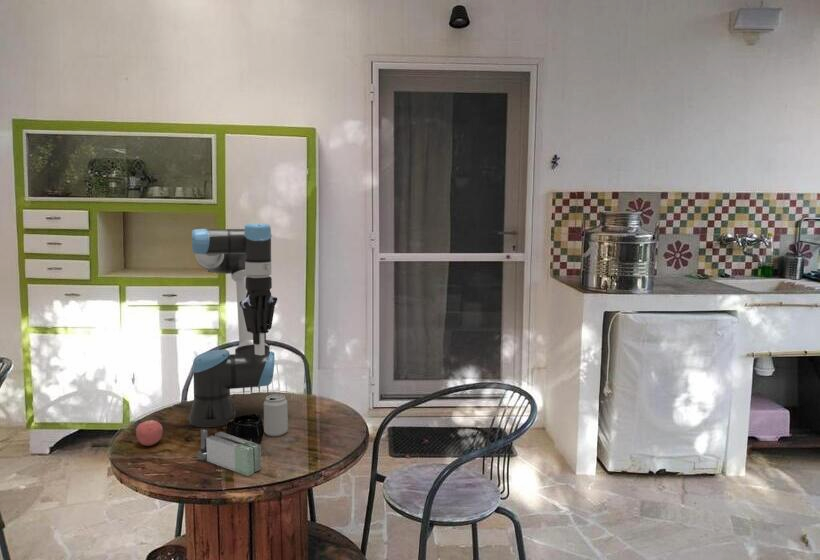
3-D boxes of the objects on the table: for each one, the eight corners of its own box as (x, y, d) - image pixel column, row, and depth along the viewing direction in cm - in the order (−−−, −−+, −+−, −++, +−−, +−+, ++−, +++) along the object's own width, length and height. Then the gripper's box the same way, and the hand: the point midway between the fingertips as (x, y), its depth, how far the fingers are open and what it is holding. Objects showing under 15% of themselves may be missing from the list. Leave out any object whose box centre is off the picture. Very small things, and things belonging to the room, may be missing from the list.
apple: (150, 438, 192) (149, 413, 191) (168, 442, 189) (167, 417, 188) (130, 446, 185) (129, 420, 185) (148, 451, 182) (147, 424, 181)
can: (262, 430, 200) (261, 394, 198) (285, 427, 203) (284, 392, 201) (266, 438, 193) (265, 401, 192) (290, 435, 196) (289, 398, 195)
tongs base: (194, 458, 177) (193, 430, 176) (206, 454, 180) (205, 426, 179) (244, 477, 165) (244, 447, 164) (256, 472, 169) (255, 442, 168)
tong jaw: (215, 456, 178) (214, 433, 177) (221, 454, 180) (220, 431, 179) (254, 472, 168) (254, 447, 167) (260, 469, 170) (260, 445, 169)
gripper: (250, 279, 174) (251, 360, 177) (283, 275, 185) (284, 352, 187) (232, 277, 178) (234, 356, 181) (266, 273, 189) (267, 348, 192)
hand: (259, 354), depth 184 cm, fingers closed
